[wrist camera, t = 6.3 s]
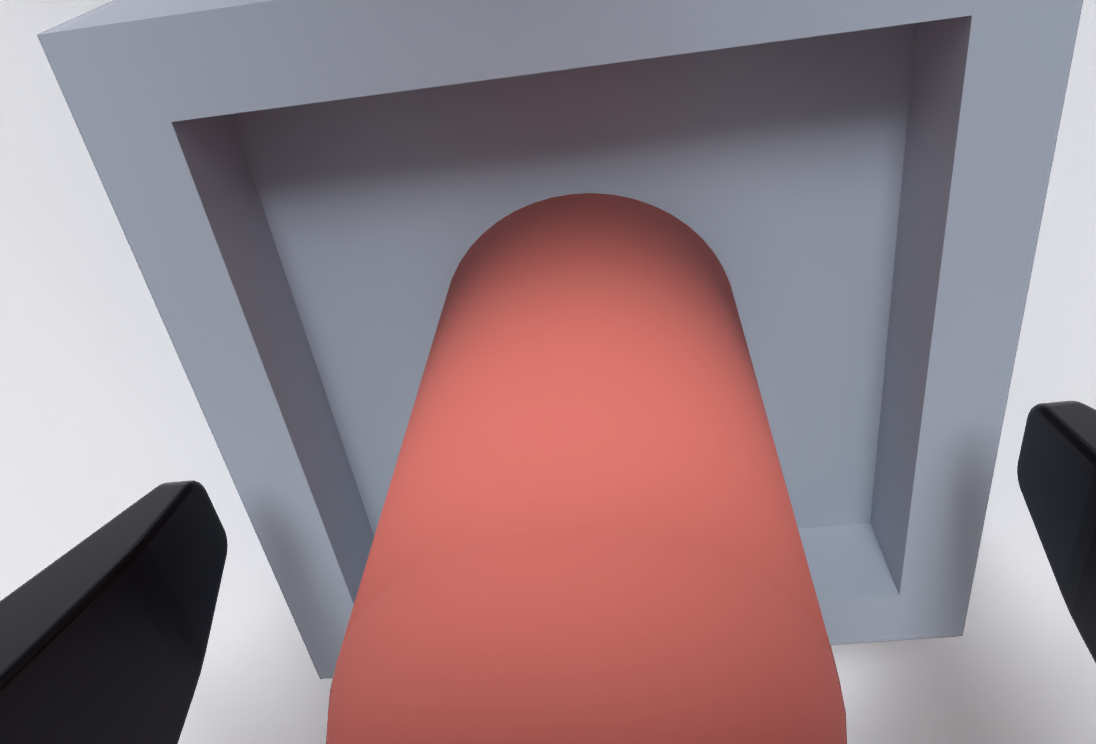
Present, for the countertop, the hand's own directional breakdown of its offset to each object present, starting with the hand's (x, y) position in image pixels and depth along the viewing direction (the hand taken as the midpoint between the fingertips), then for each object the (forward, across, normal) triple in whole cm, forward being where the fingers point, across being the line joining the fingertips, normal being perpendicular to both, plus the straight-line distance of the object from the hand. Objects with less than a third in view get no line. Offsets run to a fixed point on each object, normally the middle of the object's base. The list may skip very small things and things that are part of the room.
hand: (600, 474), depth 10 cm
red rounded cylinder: (+3, 0, 0) cm, 3 cm away
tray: (+4, 0, 0) cm, 4 cm away
